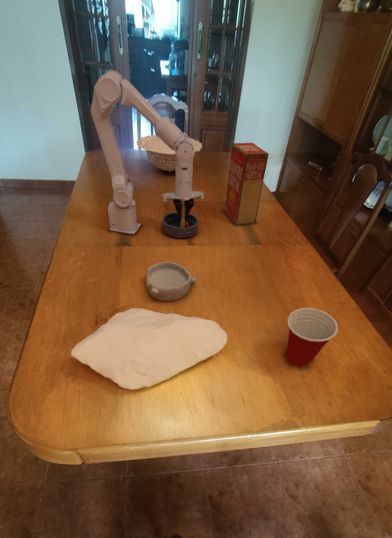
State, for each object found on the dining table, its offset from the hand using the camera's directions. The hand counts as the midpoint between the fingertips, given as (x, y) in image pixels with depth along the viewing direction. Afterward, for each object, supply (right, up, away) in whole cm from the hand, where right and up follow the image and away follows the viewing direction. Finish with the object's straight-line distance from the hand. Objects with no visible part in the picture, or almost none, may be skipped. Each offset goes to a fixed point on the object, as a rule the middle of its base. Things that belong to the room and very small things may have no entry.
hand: (182, 219), depth 116 cm
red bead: (+1, 0, +4) cm, 4 cm away
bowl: (-1, -3, +3) cm, 4 cm away
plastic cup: (+30, -50, -38) cm, 69 cm away
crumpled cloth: (-5, -48, -40) cm, 63 cm away
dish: (-3, -30, -22) cm, 37 cm away
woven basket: (-8, +43, +46) cm, 63 cm away
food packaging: (+23, +7, +15) cm, 28 cm away
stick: (0, -2, +2) cm, 3 cm away
